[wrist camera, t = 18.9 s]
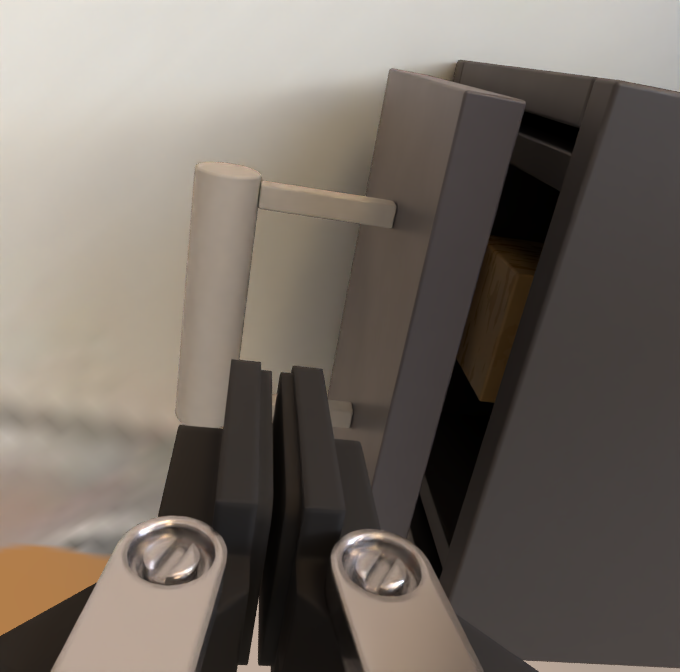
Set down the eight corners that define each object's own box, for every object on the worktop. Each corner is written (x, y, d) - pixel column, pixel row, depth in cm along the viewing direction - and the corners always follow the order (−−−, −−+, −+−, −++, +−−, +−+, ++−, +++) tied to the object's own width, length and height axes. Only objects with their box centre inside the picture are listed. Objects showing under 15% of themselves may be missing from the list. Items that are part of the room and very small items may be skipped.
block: (446, 343, 22) (478, 402, 19) (476, 232, 21) (517, 273, 17) (554, 356, 23) (605, 416, 19) (590, 249, 21) (653, 293, 18)
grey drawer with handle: (189, 405, 24) (144, 592, 16) (223, 36, 19) (181, 36, 11) (669, 455, 27) (836, 634, 19) (809, 146, 22) (1120, 211, 14)
